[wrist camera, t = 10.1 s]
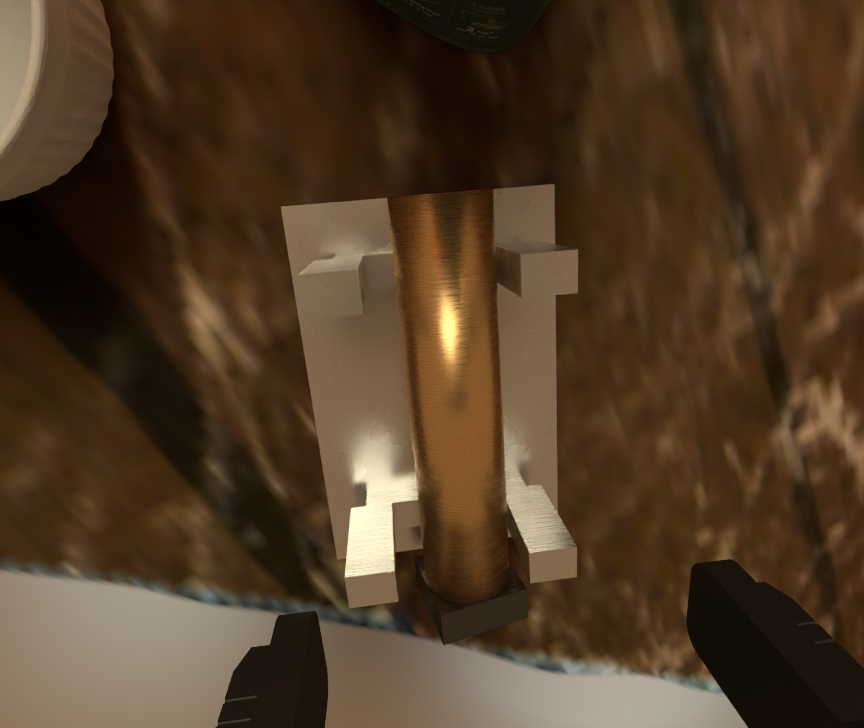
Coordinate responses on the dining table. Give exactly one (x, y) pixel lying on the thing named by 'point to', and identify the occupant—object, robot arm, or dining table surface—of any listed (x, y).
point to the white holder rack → (386, 385)
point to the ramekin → (50, 88)
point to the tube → (455, 407)
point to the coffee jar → (471, 20)
